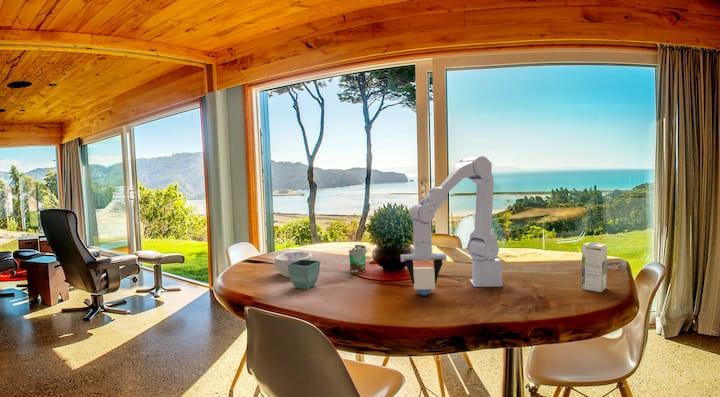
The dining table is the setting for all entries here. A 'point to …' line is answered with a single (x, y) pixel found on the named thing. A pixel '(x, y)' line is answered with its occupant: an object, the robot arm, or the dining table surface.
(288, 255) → the paper bowls
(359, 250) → the food container
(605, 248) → the syrup box
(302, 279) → the flower pot
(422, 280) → the white cube block
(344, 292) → the dining table surface
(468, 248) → the robot arm
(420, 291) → the ball
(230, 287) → the dining table surface
